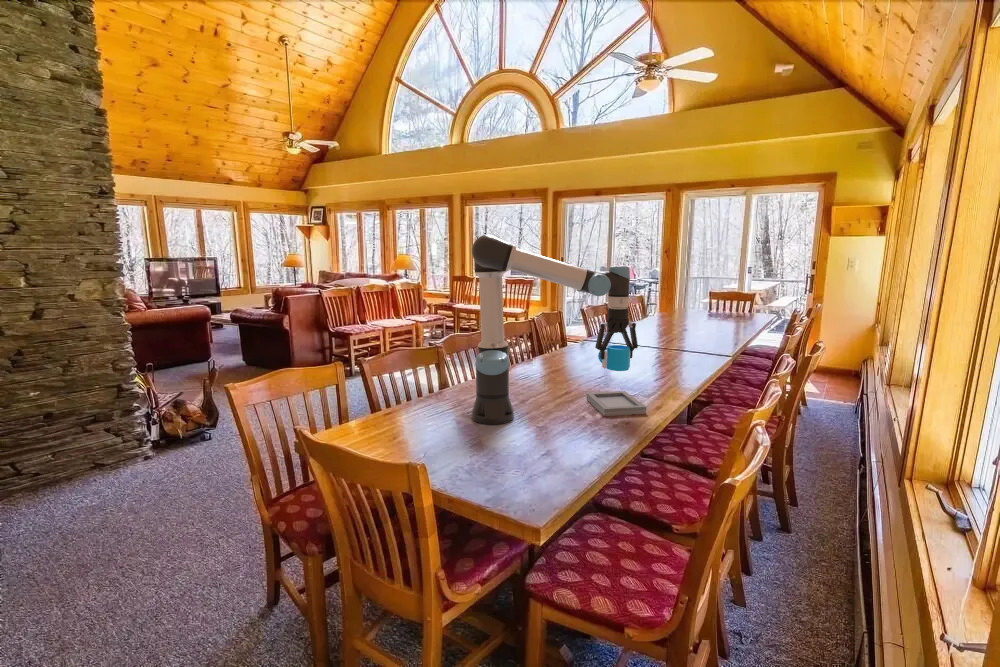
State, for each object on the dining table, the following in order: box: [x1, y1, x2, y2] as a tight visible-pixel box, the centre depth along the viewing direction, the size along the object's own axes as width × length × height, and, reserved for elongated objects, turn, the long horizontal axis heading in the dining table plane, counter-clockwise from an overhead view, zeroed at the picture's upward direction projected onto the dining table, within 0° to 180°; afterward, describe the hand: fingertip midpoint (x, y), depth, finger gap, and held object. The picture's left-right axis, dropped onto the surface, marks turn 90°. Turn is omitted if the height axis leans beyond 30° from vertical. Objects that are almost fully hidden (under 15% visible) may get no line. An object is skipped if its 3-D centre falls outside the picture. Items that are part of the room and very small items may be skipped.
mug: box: [597, 344, 630, 372], centre depth 187 cm, size 12×8×8 cm
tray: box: [586, 390, 647, 417], centre depth 189 cm, size 16×20×3 cm
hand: (615, 367), depth 187 cm, fingers closed on mug, 8 cm apart
